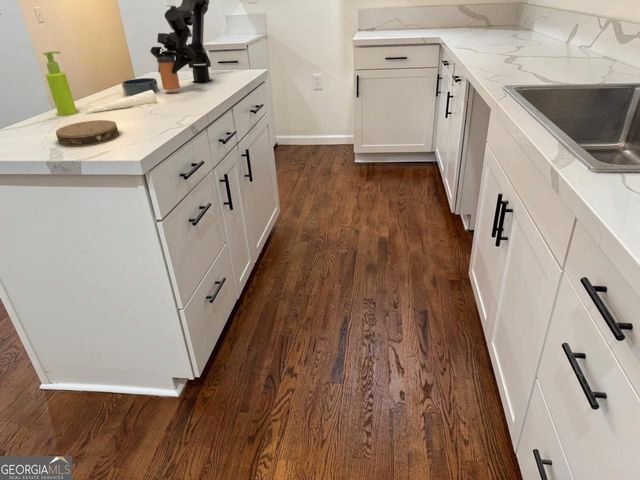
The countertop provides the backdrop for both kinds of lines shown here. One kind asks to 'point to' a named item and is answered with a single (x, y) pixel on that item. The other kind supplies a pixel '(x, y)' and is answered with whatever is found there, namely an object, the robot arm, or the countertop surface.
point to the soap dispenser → (59, 87)
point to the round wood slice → (87, 133)
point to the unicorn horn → (128, 102)
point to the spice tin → (168, 73)
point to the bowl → (139, 86)
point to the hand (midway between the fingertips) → (166, 72)
